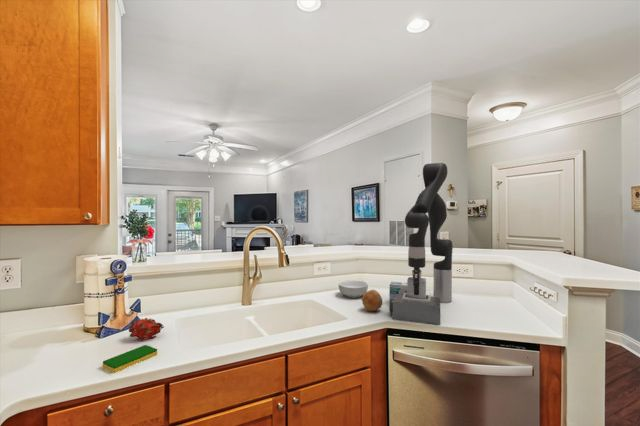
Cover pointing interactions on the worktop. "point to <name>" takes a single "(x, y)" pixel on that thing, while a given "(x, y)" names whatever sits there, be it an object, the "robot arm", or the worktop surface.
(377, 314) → the worktop surface
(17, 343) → the worktop surface
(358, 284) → the cereal bowl
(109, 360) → the dish sponge
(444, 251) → the robot arm
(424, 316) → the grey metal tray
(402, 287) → the light bulb box
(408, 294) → the medicine box
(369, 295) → the onion
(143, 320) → the dragon fruit
